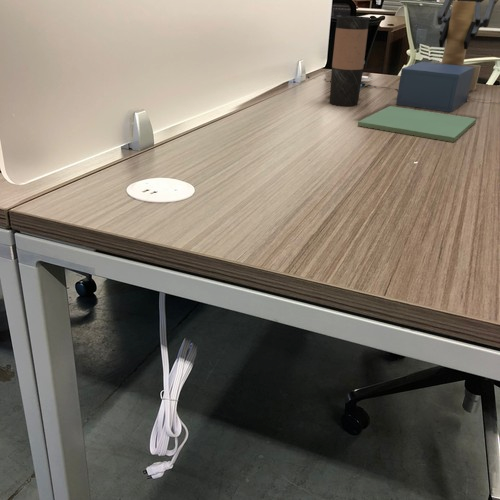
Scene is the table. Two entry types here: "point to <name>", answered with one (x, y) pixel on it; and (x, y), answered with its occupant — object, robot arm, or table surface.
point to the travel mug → (348, 59)
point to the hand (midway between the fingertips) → (453, 44)
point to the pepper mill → (458, 32)
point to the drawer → (474, 77)
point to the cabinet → (434, 86)
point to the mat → (419, 123)
